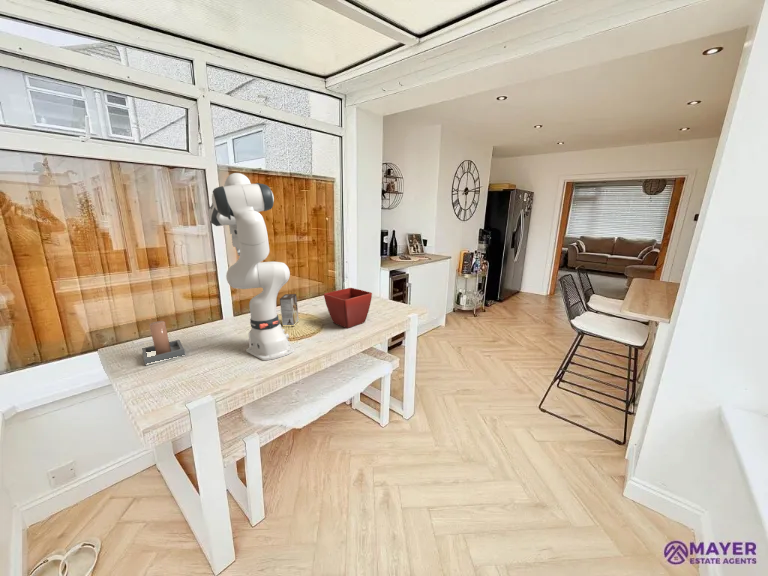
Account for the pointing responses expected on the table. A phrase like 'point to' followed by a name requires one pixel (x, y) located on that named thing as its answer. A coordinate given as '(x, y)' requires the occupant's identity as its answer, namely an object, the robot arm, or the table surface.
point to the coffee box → (289, 309)
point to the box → (175, 351)
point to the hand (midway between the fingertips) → (242, 256)
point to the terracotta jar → (160, 337)
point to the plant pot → (348, 306)
